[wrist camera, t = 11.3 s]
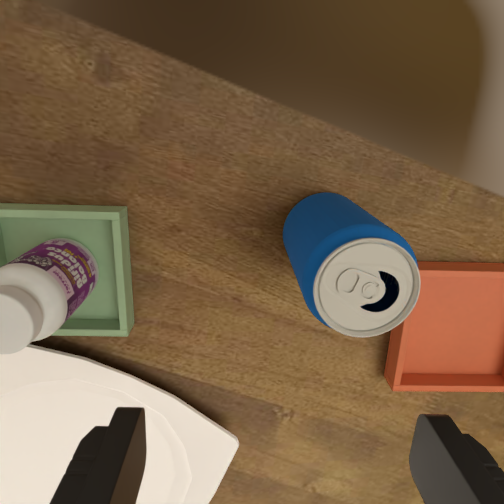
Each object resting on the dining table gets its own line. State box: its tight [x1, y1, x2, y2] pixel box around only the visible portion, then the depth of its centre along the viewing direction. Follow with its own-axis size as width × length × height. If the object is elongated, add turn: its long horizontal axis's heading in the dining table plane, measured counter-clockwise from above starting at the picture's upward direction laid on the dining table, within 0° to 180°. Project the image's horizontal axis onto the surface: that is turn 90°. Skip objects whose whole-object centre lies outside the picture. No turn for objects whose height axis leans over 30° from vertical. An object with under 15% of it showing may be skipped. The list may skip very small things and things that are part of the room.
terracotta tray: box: [384, 261, 504, 392], centre depth 34 cm, size 11×11×2 cm
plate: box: [0, 344, 239, 504], centre depth 37 cm, size 24×24×3 cm
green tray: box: [0, 203, 134, 336], centre depth 32 cm, size 10×10×2 cm
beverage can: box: [283, 193, 421, 337], centre depth 27 cm, size 6×6×12 cm
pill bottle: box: [0, 238, 99, 354], centre depth 28 cm, size 5×5×10 cm
